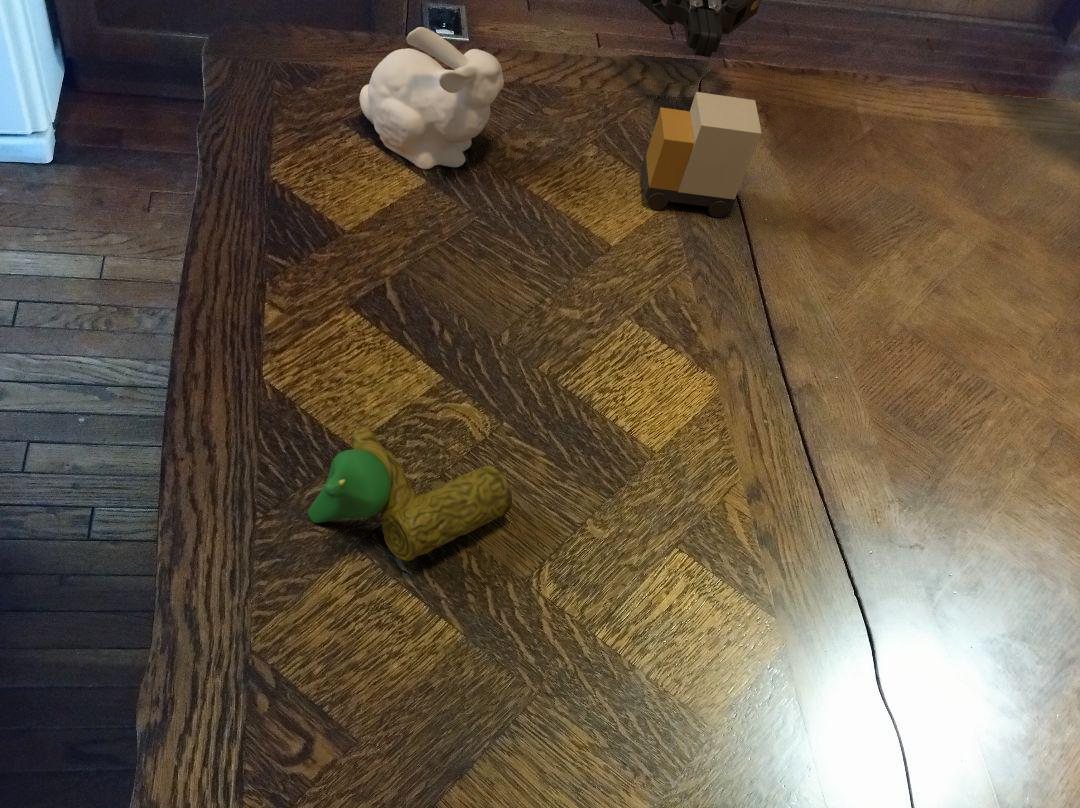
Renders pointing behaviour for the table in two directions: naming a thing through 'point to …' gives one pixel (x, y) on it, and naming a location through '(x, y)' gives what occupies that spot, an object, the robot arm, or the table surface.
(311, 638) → the table surface
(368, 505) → the bird figurine
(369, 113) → the rabbit
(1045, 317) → the table surface
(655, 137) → the cream truck
